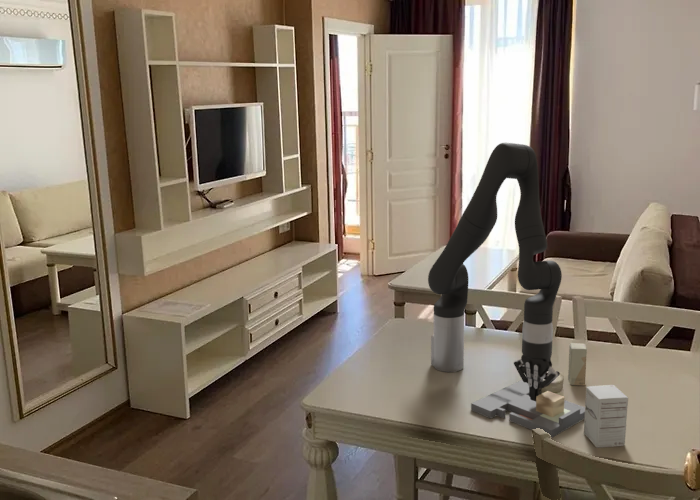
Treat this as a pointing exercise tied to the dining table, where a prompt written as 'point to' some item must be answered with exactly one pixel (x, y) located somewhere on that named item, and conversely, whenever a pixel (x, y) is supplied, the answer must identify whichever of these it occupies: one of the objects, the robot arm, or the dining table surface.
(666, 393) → the dining table surface
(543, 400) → the block
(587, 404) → the supplement box
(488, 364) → the dining table surface
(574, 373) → the box
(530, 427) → the track
